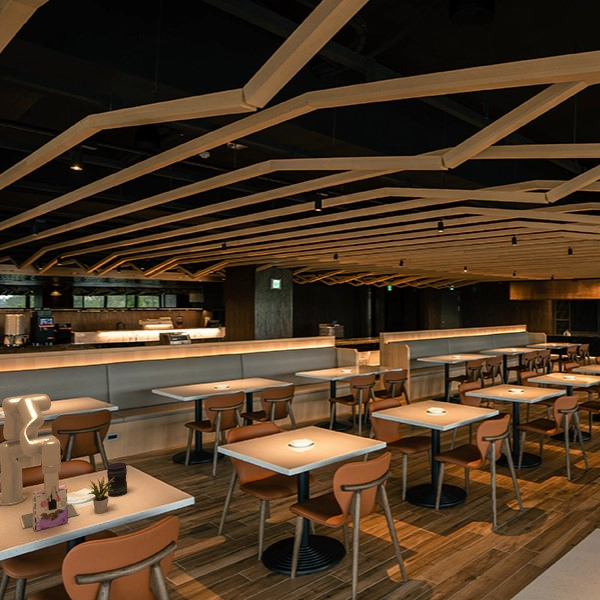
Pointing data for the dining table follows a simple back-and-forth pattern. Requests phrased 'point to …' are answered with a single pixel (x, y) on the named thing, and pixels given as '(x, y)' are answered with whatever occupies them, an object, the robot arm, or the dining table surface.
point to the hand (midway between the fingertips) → (52, 509)
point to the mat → (28, 518)
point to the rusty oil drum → (117, 479)
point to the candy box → (52, 517)
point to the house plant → (100, 496)
